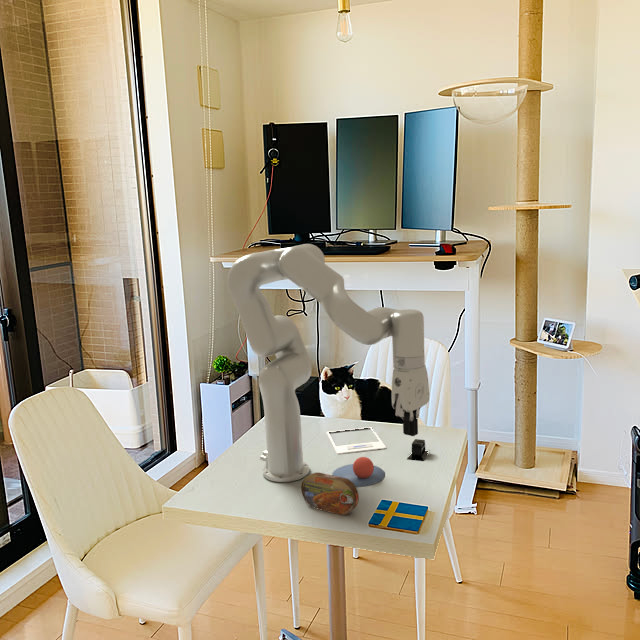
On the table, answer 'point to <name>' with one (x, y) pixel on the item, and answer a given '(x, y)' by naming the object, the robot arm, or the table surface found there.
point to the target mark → (358, 482)
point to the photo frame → (357, 445)
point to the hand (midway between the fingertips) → (410, 434)
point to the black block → (418, 450)
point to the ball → (363, 467)
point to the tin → (330, 493)
